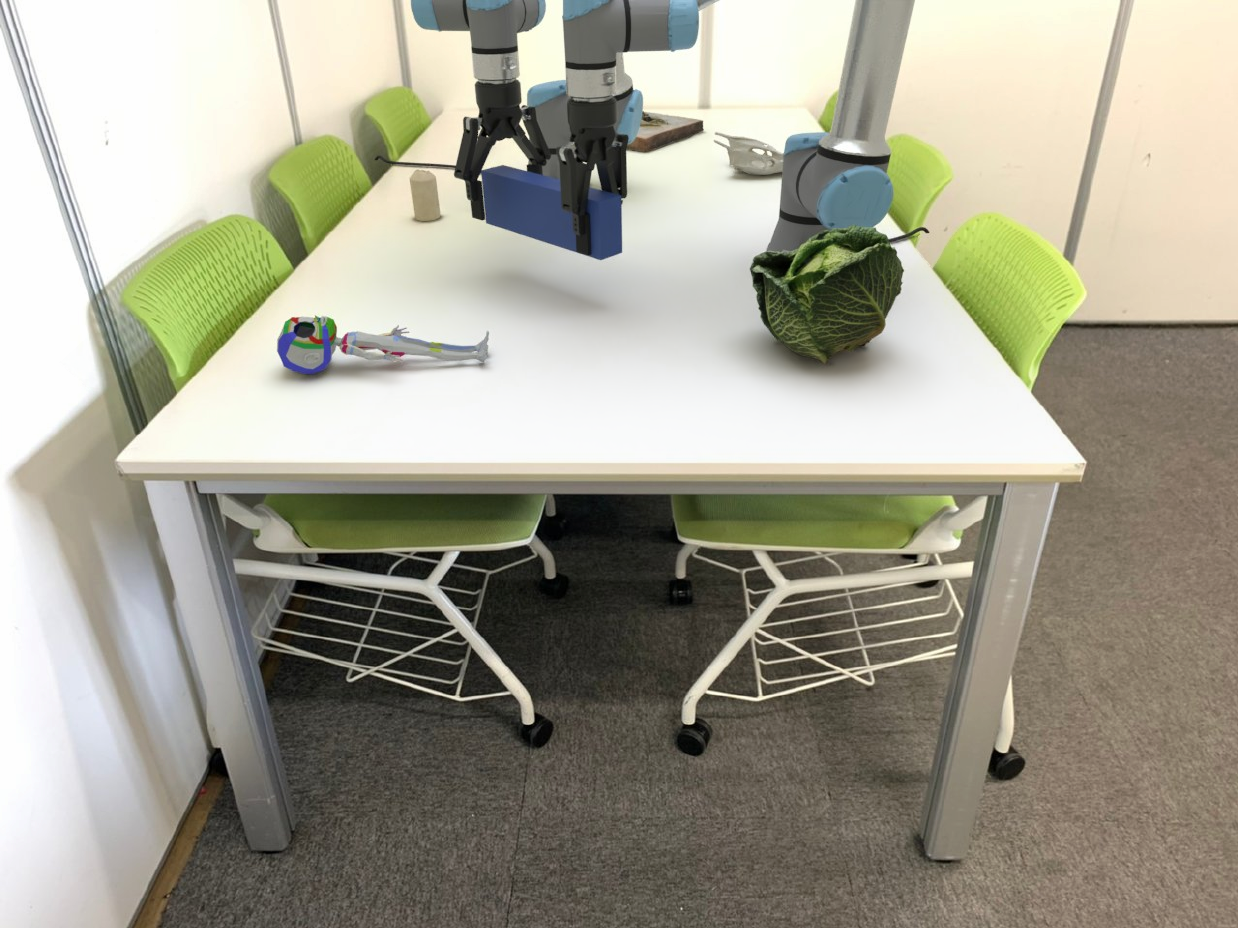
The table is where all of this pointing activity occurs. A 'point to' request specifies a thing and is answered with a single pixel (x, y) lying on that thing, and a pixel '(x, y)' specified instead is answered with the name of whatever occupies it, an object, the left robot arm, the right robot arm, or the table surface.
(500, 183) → the bar
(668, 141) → the plaque
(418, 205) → the candle
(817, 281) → the vegetable
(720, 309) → the table surface
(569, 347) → the table surface
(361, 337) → the toy
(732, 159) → the anatomical model
